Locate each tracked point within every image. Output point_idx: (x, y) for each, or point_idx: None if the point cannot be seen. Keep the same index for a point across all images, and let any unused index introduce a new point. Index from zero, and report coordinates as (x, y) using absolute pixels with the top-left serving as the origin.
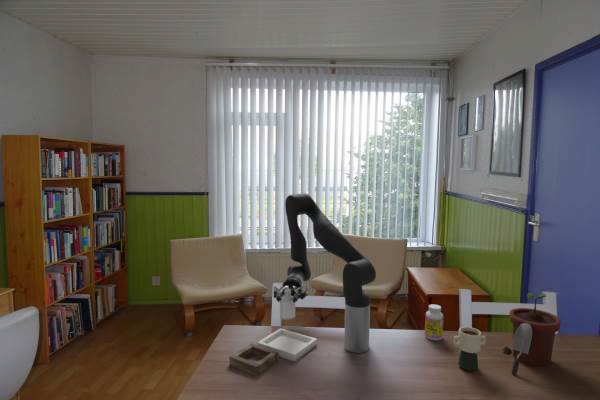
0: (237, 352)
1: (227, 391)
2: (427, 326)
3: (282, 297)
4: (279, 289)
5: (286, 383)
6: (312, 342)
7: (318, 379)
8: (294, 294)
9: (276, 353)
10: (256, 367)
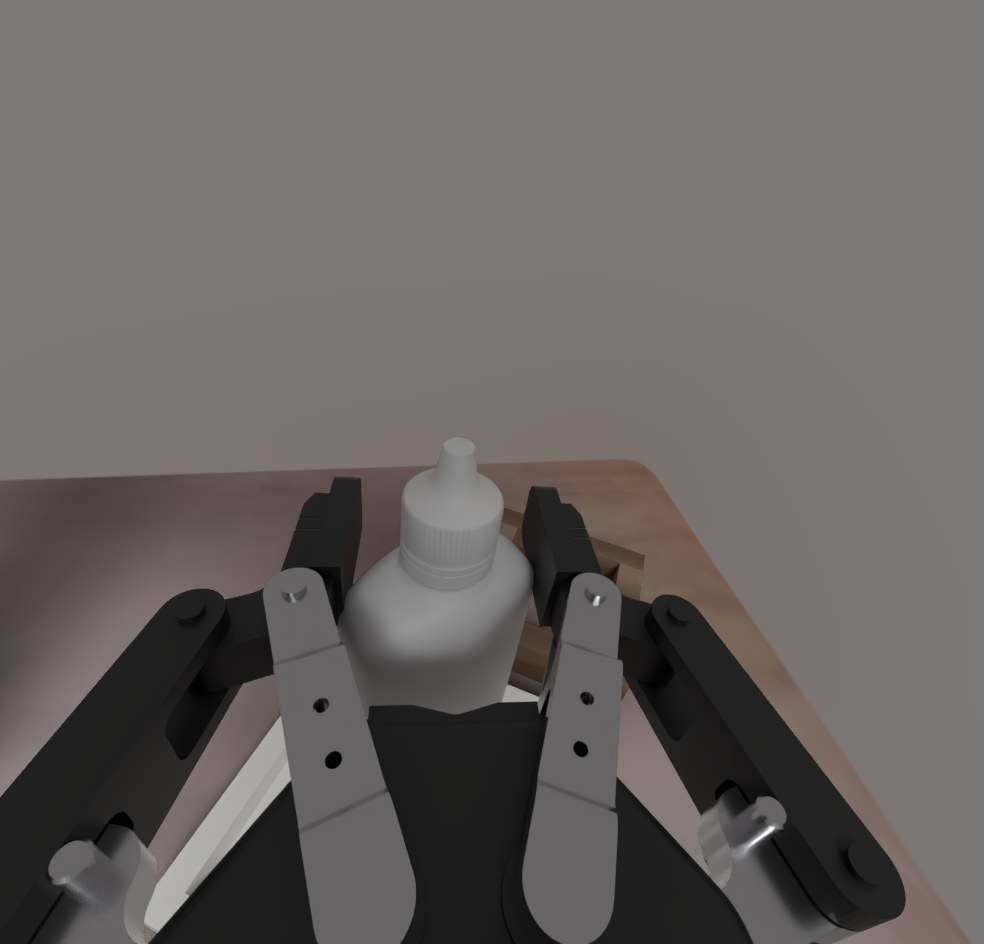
0: (637, 589)
1: (550, 470)
2: None
3: (509, 550)
4: (727, 883)
5: (381, 506)
6: (203, 823)
7: (253, 532)
8: (343, 542)
9: None
10: (504, 510)
